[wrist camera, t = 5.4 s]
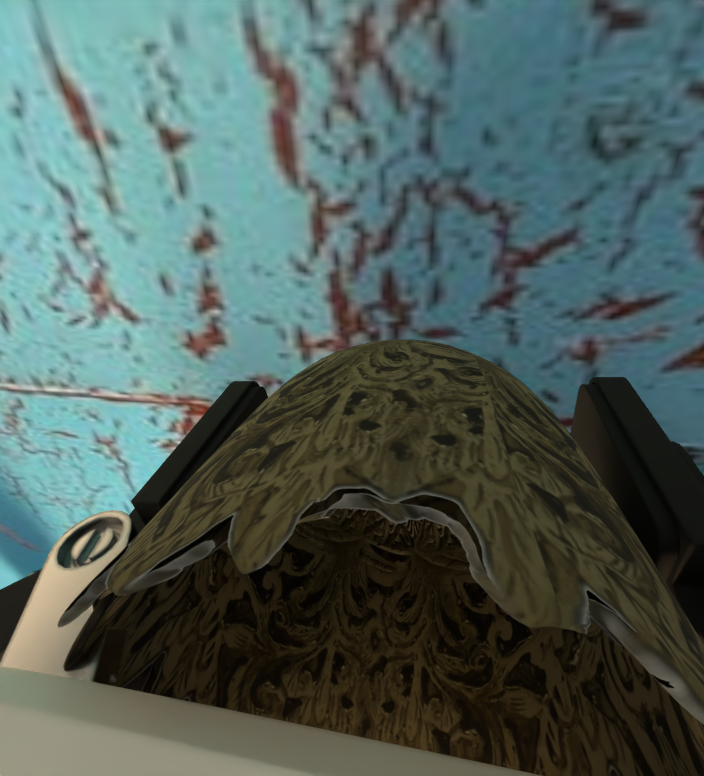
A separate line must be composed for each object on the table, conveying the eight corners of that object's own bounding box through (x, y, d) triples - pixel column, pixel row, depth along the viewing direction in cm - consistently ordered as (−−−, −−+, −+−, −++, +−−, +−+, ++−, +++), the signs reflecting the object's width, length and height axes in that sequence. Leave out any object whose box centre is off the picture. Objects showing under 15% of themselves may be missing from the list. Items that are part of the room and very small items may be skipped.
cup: (619, 278, 8) (1218, 812, 2) (514, 507, 13) (587, 925, 6) (282, 235, 9) (-107, 493, 3) (287, 462, 13) (136, 780, 7)
